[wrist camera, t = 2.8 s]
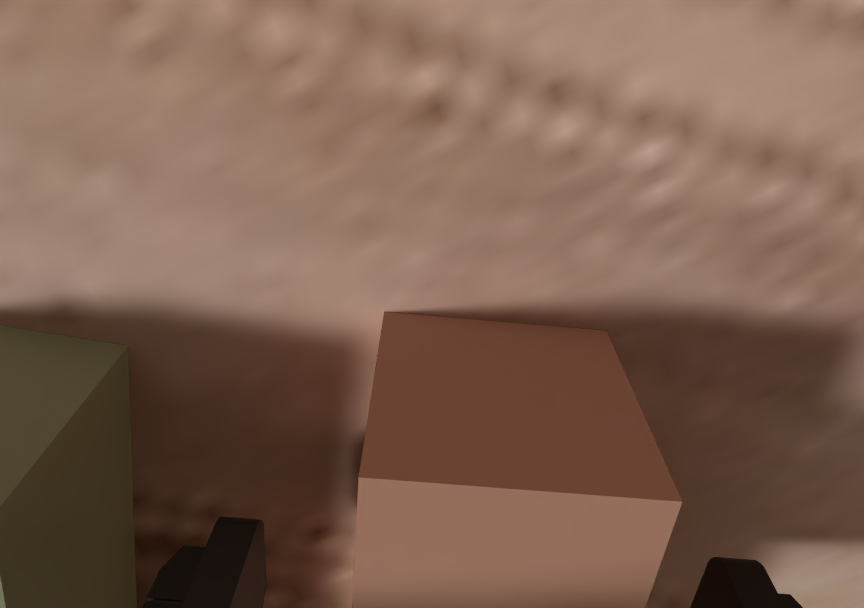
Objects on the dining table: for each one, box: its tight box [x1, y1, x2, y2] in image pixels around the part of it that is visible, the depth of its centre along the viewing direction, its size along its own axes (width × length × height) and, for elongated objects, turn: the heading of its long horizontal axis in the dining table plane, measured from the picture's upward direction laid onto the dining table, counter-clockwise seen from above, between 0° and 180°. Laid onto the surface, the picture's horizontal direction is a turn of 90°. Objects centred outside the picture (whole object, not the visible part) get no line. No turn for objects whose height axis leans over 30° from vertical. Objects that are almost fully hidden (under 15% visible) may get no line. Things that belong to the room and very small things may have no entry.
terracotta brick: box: [352, 312, 682, 608], centre depth 12 cm, size 8×4×4 cm, turn 175°
